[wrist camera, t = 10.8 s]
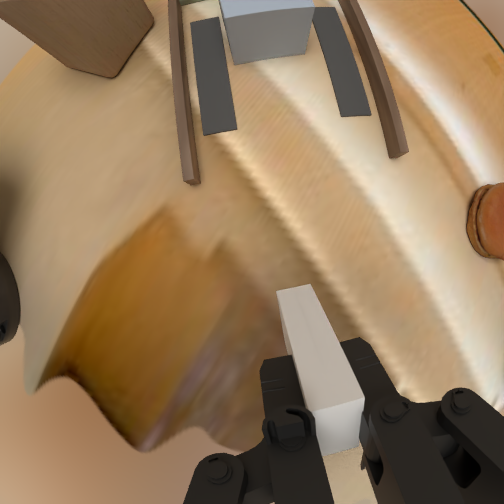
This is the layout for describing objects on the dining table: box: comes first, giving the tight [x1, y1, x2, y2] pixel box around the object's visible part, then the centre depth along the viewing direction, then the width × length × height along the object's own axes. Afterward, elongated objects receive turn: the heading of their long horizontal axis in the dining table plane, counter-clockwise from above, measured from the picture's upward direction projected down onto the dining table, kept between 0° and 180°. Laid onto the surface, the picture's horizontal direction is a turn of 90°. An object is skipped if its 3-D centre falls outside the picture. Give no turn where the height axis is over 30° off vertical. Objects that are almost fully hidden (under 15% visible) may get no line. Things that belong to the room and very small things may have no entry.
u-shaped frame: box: [168, 0, 409, 185], centre depth 27 cm, size 22×26×4 cm
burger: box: [467, 183, 504, 260], centre depth 27 cm, size 10×9×5 cm
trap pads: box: [190, 7, 371, 136], centre depth 29 cm, size 18×16×1 cm
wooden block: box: [0, 0, 154, 77], centre depth 19 cm, size 10×10×20 cm
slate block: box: [219, 0, 315, 65], centre depth 24 cm, size 8×8×9 cm
